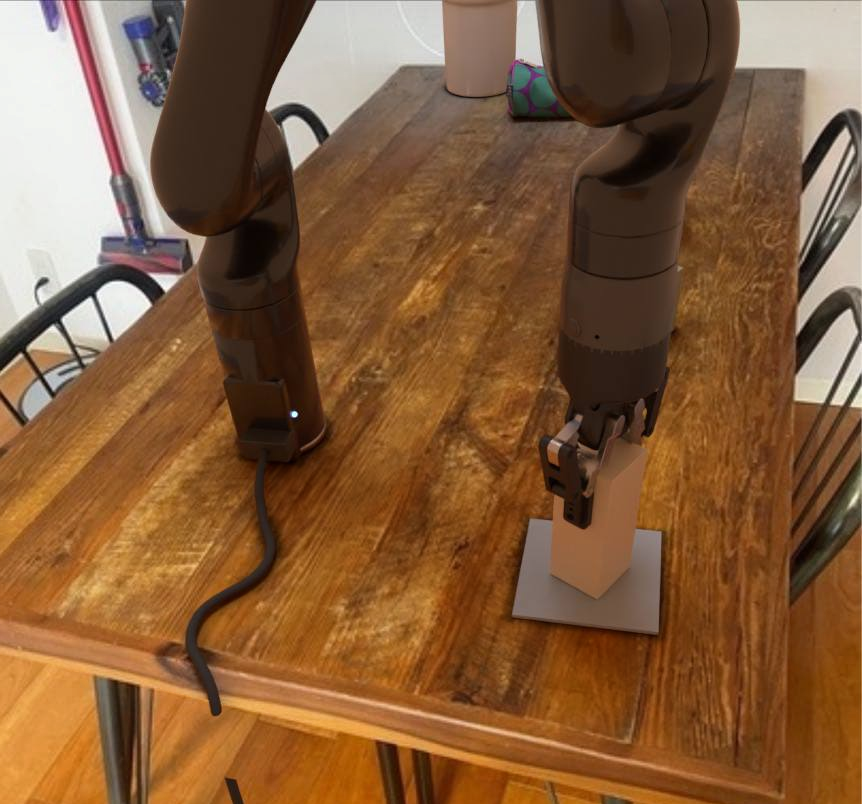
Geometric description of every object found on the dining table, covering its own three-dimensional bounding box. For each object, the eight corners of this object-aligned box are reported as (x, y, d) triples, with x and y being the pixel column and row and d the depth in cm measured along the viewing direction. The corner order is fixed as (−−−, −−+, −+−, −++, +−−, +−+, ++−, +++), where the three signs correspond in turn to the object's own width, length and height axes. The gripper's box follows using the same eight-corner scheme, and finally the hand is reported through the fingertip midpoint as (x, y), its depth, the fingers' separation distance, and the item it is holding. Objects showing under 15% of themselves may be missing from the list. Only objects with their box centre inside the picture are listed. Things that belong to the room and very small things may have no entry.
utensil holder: (483, 70, 180) (481, -28, 168) (533, 84, 171) (535, -18, 159) (429, 88, 174) (423, -13, 161) (478, 104, 165) (476, -1, 153)
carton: (556, 456, 66) (611, 482, 63) (593, 425, 68) (647, 449, 66) (549, 573, 75) (597, 600, 72) (582, 542, 77) (629, 566, 75)
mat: (657, 635, 70) (658, 632, 69) (511, 617, 72) (511, 614, 72) (661, 534, 78) (661, 531, 78) (530, 521, 80) (530, 518, 80)
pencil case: (505, 125, 156) (505, 67, 149) (507, 108, 162) (507, 52, 155) (621, 121, 154) (627, 62, 147) (618, 104, 160) (623, 47, 153)
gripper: (602, 384, 52) (585, 576, 64) (719, 290, 59) (684, 477, 71) (505, 345, 56) (506, 533, 68) (626, 261, 63) (607, 444, 75)
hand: (597, 503), depth 69 cm, fingers closed on carton, 5 cm apart
